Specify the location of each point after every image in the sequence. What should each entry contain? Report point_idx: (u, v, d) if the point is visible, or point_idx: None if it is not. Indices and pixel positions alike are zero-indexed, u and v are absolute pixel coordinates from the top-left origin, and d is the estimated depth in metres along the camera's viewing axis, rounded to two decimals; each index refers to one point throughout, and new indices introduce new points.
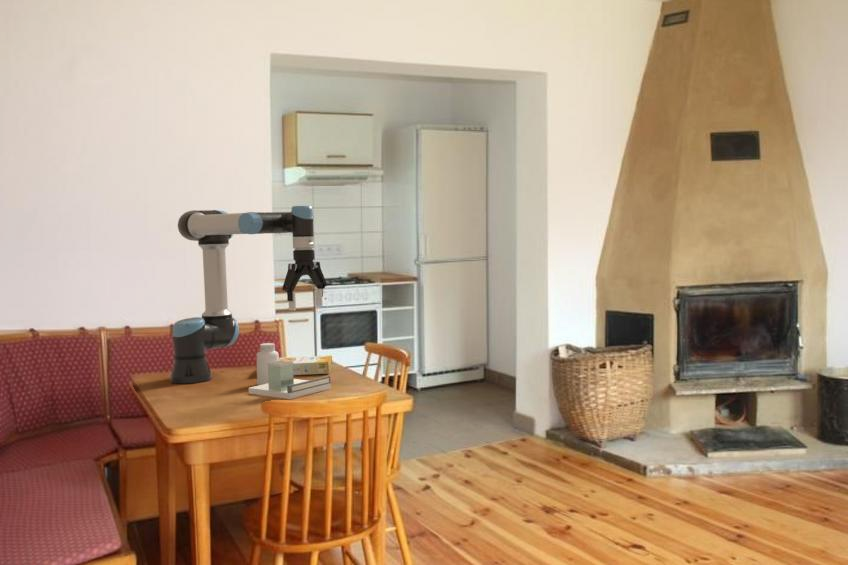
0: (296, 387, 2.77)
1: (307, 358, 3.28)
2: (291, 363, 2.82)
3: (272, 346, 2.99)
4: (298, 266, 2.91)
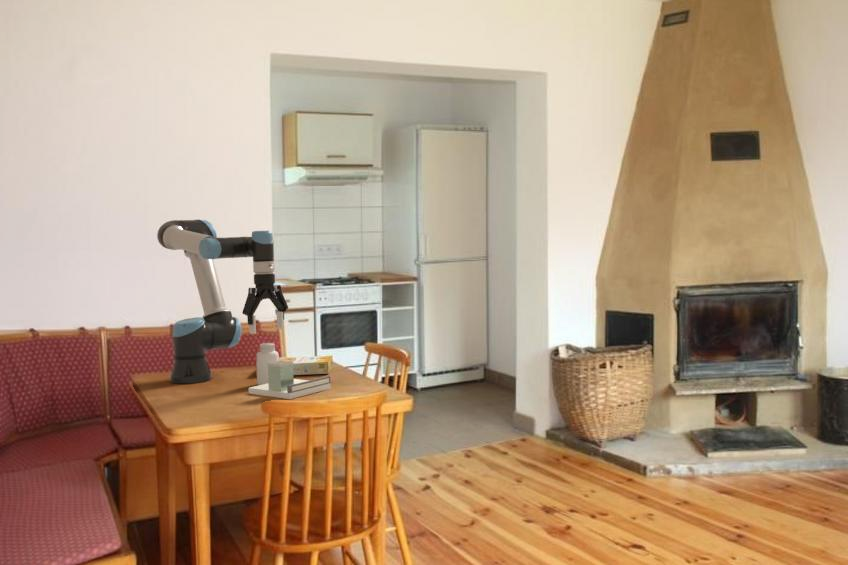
0: (296, 387, 2.77)
1: (307, 358, 3.28)
2: (291, 363, 2.82)
3: (272, 346, 2.99)
4: (258, 290, 2.96)
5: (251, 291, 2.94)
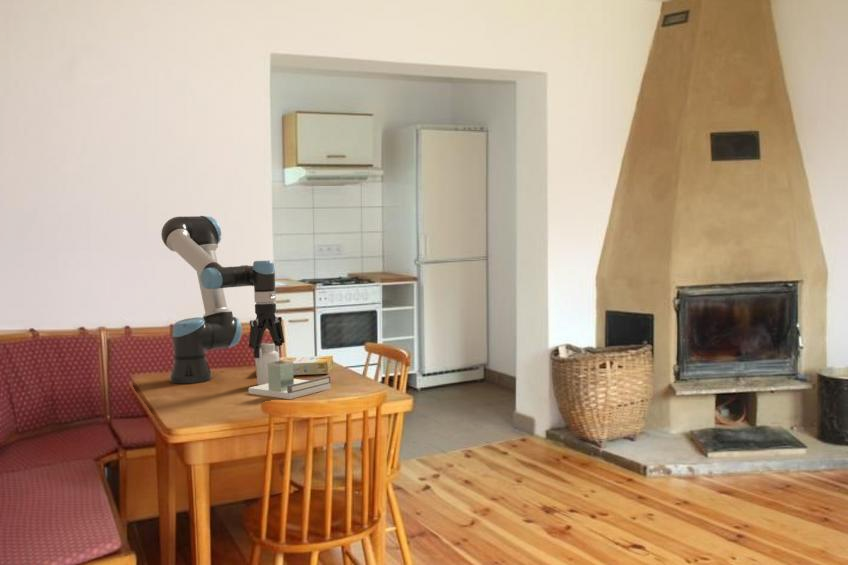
0: (296, 387, 2.77)
1: (307, 358, 3.28)
2: (291, 363, 2.82)
3: (272, 346, 2.99)
4: (259, 320, 2.97)
5: (253, 324, 2.95)
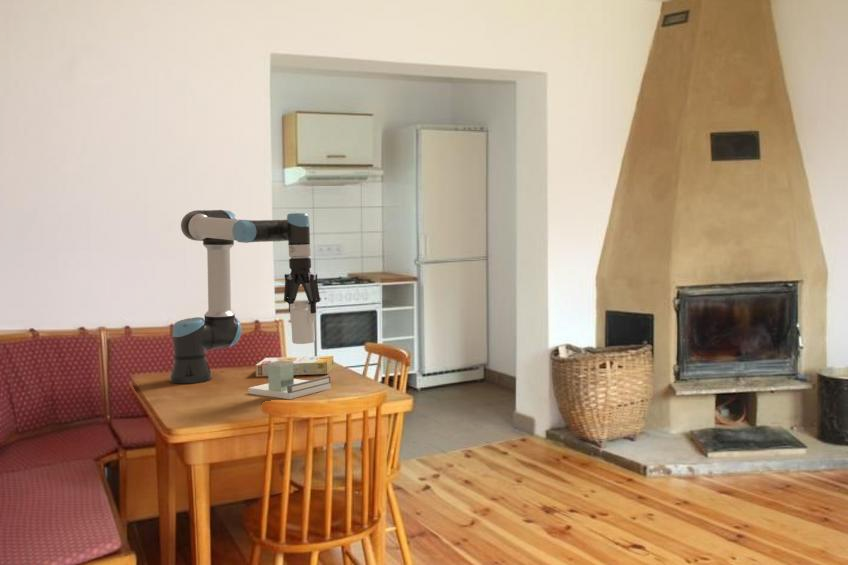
0: (296, 387, 2.77)
1: (307, 358, 3.28)
2: (291, 363, 2.82)
3: (296, 303, 2.87)
4: (290, 274, 2.90)
5: None
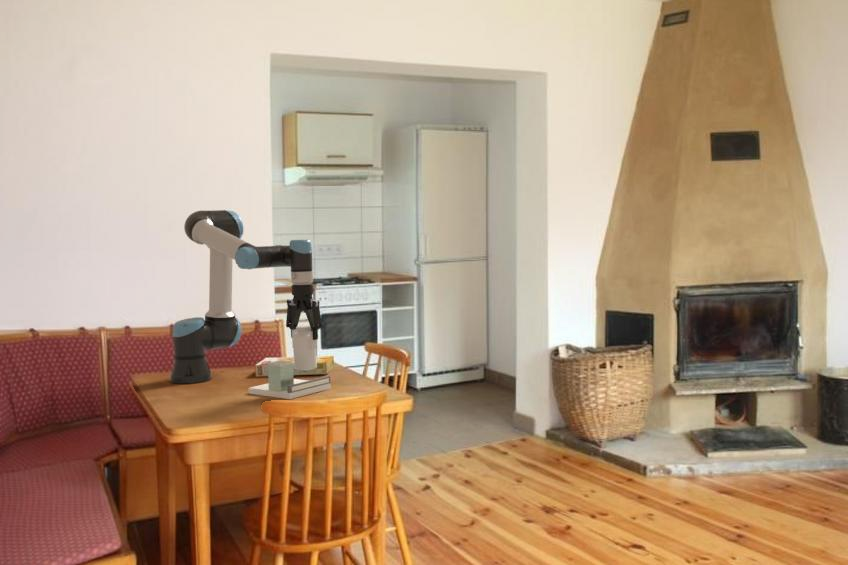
0: (296, 387, 2.77)
1: None
2: (291, 363, 2.82)
3: (298, 329, 2.87)
4: (293, 300, 2.90)
5: None
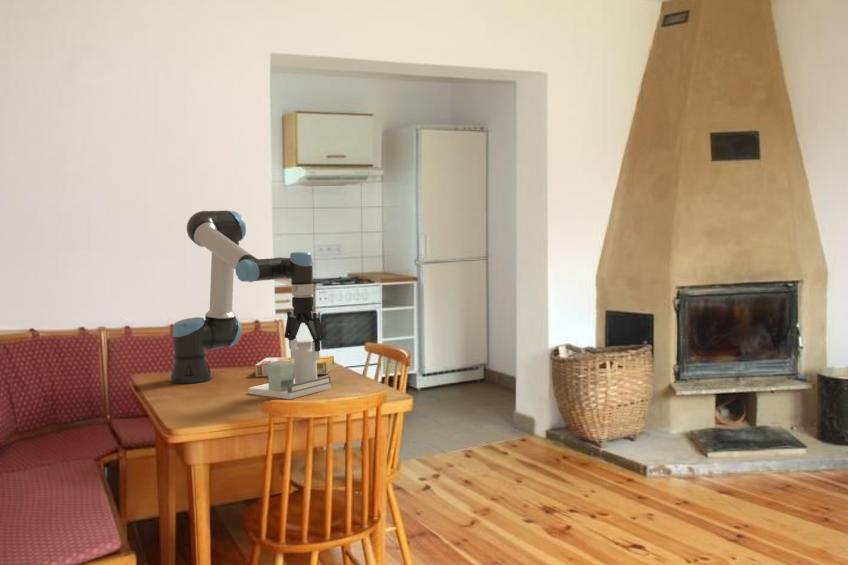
0: (296, 387, 2.77)
1: None
2: (291, 363, 2.82)
3: (299, 344, 2.88)
4: (293, 313, 2.91)
5: None
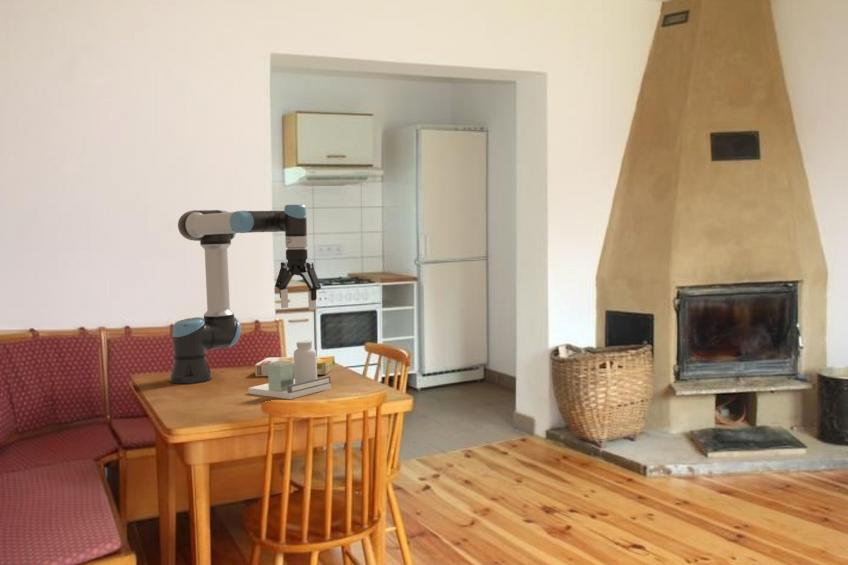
0: (296, 387, 2.77)
1: None
2: (291, 363, 2.82)
3: (299, 344, 2.87)
4: (287, 265, 2.92)
5: None
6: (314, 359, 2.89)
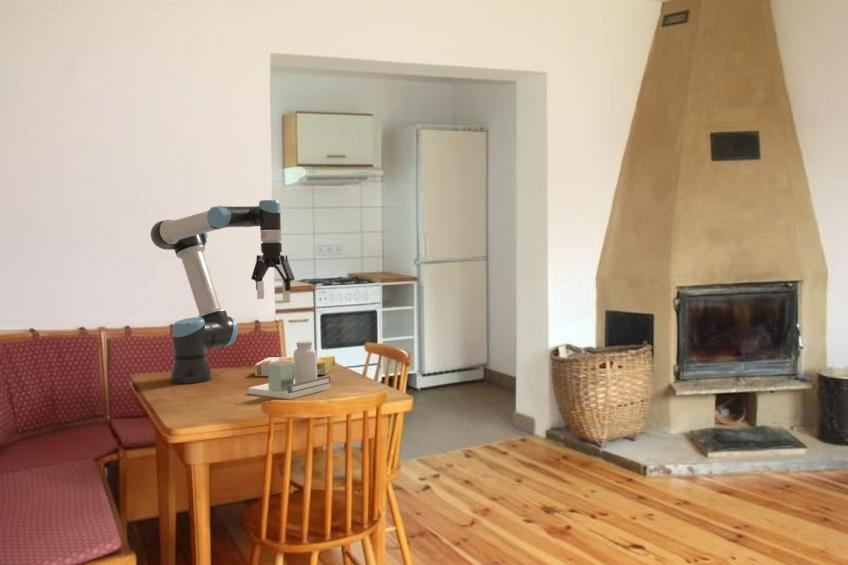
0: (296, 387, 2.77)
1: None
2: (291, 363, 2.82)
3: (299, 344, 2.87)
4: (262, 258, 3.06)
5: None
6: (314, 359, 2.89)
